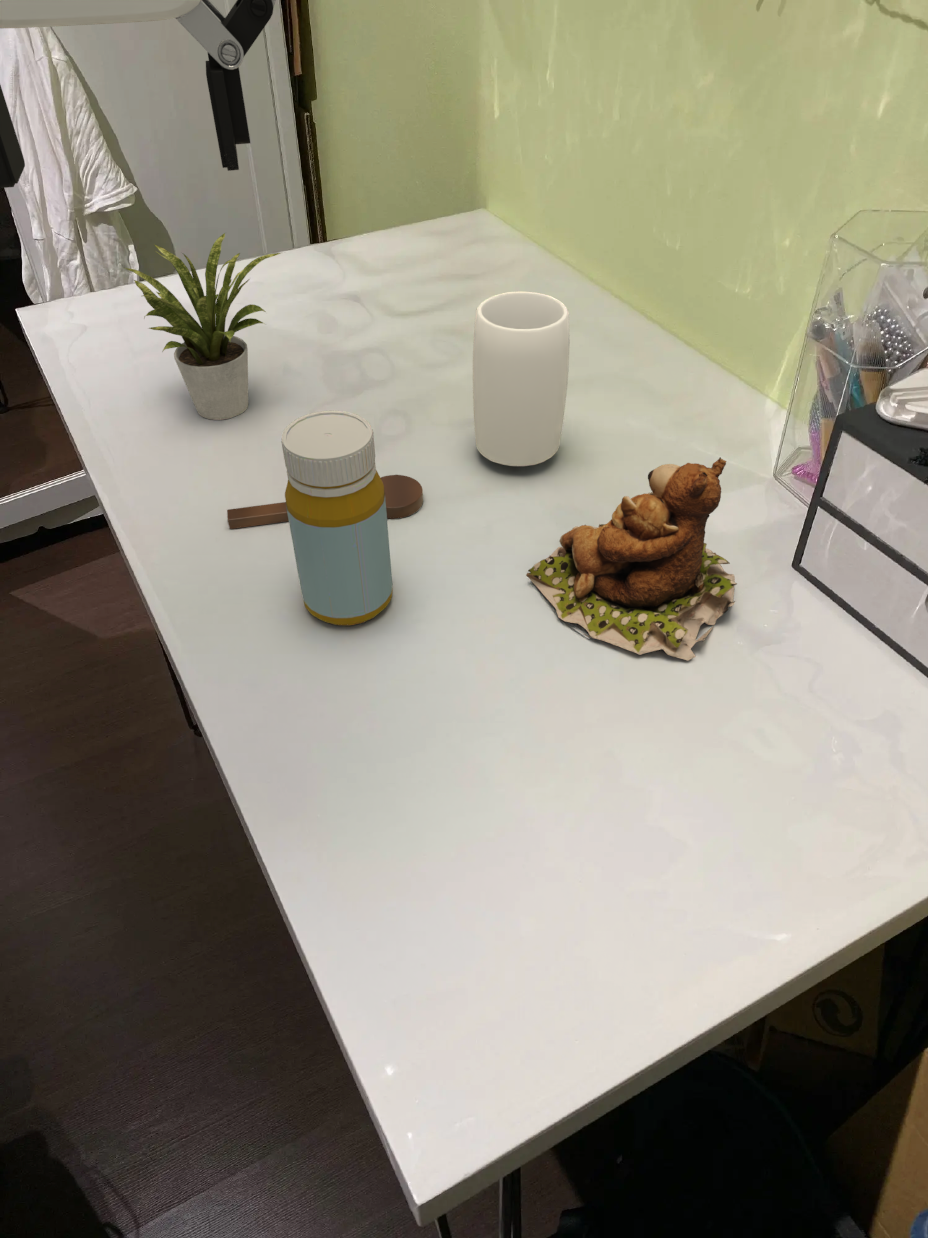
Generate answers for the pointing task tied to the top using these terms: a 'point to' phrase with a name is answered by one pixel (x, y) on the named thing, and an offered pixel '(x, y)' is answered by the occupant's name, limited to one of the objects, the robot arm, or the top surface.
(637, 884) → the top surface
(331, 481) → the bottle
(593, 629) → the bear figurine
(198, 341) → the house plant
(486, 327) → the cup
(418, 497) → the spoon
